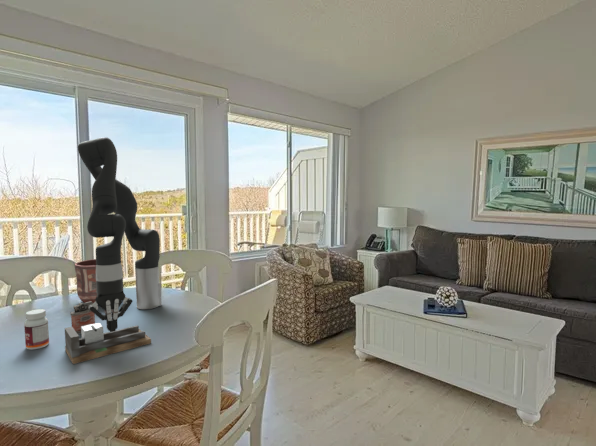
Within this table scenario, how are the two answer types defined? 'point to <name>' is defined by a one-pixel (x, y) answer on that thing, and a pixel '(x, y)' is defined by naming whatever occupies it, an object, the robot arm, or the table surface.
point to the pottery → (86, 280)
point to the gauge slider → (92, 333)
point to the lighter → (82, 316)
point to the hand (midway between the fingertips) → (112, 330)
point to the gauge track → (103, 343)
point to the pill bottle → (36, 329)
